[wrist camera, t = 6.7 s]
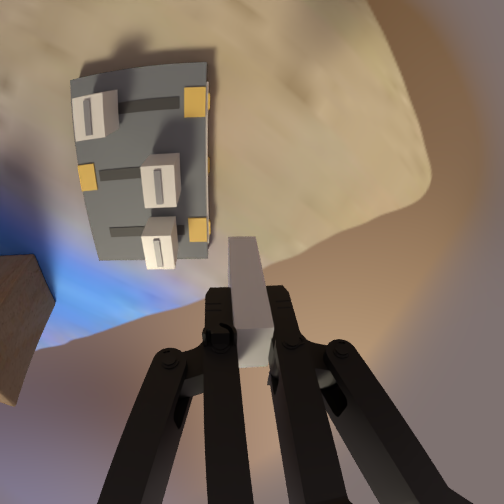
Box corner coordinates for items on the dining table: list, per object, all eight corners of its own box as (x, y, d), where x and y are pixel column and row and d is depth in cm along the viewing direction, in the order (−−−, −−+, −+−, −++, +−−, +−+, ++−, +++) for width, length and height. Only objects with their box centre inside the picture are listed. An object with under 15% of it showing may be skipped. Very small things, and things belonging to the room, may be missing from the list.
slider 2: (153, 191, 28) (144, 209, 25) (149, 154, 26) (139, 167, 23) (181, 190, 29) (176, 207, 25) (179, 152, 26) (173, 165, 23)
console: (103, 251, 35) (98, 261, 33) (78, 79, 22) (69, 80, 20) (211, 249, 36) (211, 259, 34) (211, 63, 24) (210, 62, 22)
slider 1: (92, 132, 24) (74, 142, 20) (89, 94, 21) (70, 98, 18) (119, 128, 24) (104, 137, 21) (117, 89, 22) (101, 92, 18)
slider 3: (153, 248, 32) (147, 270, 29) (148, 217, 30) (140, 237, 27) (178, 247, 33) (174, 270, 29) (175, 216, 30) (170, 236, 27)
